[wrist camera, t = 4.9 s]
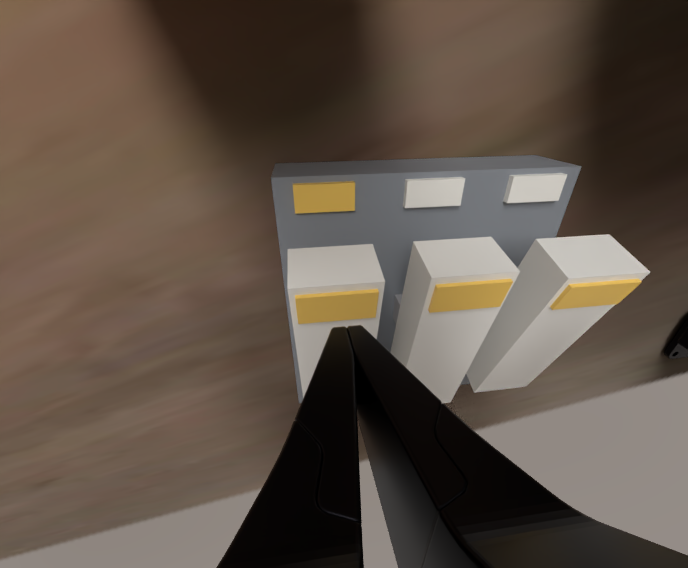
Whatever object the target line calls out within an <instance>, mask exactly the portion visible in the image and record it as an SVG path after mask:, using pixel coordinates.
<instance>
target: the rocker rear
mask: <svg viewBox="0 0 688 568" xmlns="http://www.w3.org/2000/svg"><path fill="white" fill-rule="evenodd" d="M518 269H519V271H520V273H519V275H518V276H517V278H516V280H515V282H514V284H513V286H512V288H511V290H510V292H509V293H508V295H507V297H506V299H505V301H504V303H503V305H502V307H501V308H500V310H499V312H498V314H497V316H496V318H495V320H494V322H493V324H492V325H491V327H490V329H489V331H488V333H487V335H486V337H485V339H484V340H483V342H482V344H481V346H480V348H479V350H478V352H477V354H476V355H475V357H474V359H473V361H472V363H471V365H470V367H469V369H468V371H467V372H466V374H467V377H468V379H469V382H470V384H471V387H472V389H473V391H474V393H475V392H484V391H493V390H501V389H510V388H518V387H526V386H527V385H528V384H529V383H530V382H531V381H532V380H534V379H535V378H536V377H537V376H538V375H539V374H540V373H541V372H542V371H543V370H544V369H546V368H547V367H548V366H549V365H550V364H551V363H552V362H553V361H554V360H555V359H556V358H558V357H559V356H560V355H561V354H562V353H563V352H564V351H565V350H566V349H567V348H568V347H570V346H571V345H572V344H573V343H574V342H575V341H576V340H577V339H578V338H579V337H580V336H582V335H583V334H584V333H585V332H586V331H587V330H588V329H589V328H590V327H591V326H592V325H594V324H595V323H596V322H597V321H598V320H599V319H600V318H601V317H602V316H603V315H604V314H606V313H607V312H608V311H609V310H610V309H611V308H612V307H613V306H614V305H615V304H618V303H619V302H621V301H622V300H623V299H624V298H625V297H626V296H627V295H628V294H629V293H630V292H632V291H633V290H634V289H635V288H636V287H637V286H638V285H639V284H640V283H641V282H642V281H641V280H643V279H644V278H645V277H646V276H647V275H648V274H649V273H650V271H649V270H648V269H647V268H645V267H644V266H643V265H642V264H641V263H640V262H639V261H638V260H637V259H636V258H635V257H634V256H632V255H631V254H630V253H629V252H628V251H627V250H626V249H625V248H624V247H623V246H622V245H620V244H619V243H618V242H617V241H616V240H615V239H614V238H613V237H612V236H611V235H610V234H606V235H590V236H574V237H558V238H542V239H535V241H534V242H533V244H532V245H531V247H530V249H529V250H528V252H527V253H526V255H525V257H524V258H523V260H522V261H521V263H520V265H519V266H518Z"/></svg>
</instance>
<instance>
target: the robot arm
mask: <svg viewBox="0 0 688 568" xmlns="http://www.w3.org/2000/svg"><path fill="white" fill-rule="evenodd" d="M664 355H666V356H667V357H669V358H670V359H674V358H683V357H688V319H687V320H686V322H685V323H684V325H683V326H682V327H681V329H680V330H679V332H678V333H677V335H676V336H675V337H674V339H673V340H672V342H671V343H670V345H669V346H668V347H667V349H666V350H665V352H664ZM441 403H442V402H441V400H440V399H439V398H437V397H436V396H435V395H434V394H433V393H432V392H431V391H430V390H429V389H428V388H427V387H426V386H425V385H424V384H423V383H422V382H421V381H420V380H419V379H418V378H416V377H415V376H414V375H413V374H412V373H411V372H410V371H409V370H408V369H407V368H406V367H405V366H404V365H403V364H402V363H401V362H400V361H399V360H398V359H397V358H395V357H394V356H393V355H392V354H391V353H390V352H389V351H388V350H387V349H386V348H385V347H384V346H383V345H382V344H381V343H380V342H379V341H378V340H377V339H376V338H374V337H373V336H372V335H371V334H370V333H369V332H368V331H367V330H366V329H365V328H364V327H363V326H361V325H354V326H348V327H347V328H346V327H345V326H342V327H333V328H332V329H331V331H330V334H329V336H328V339H327V341H326V343H325V346H324V348H323V351H322V353H321V356H320V358H319V361H318V363H317V366H316V368H315V371H314V373H313V376H312V378H311V381H310V383H309V386H308V388H307V391H306V393H305V396H304V398H303V401H302V403H301V405H300V408H299V410H298V413H297V415H296V418H295V421H294V422H293V425H292V427H291V430H290V432H289V435H288V437H287V439H286V442H285V444H284V446H283V448H282V451H281V453H280V455H279V457H278V459H277V461H276V463H275V465H274V467H273V469H272V471H271V473H270V474H269V476H268V478H267V480H266V482H265V484H264V486H263V487H262V489H261V491H260V493H259V495H258V497H257V498H256V500H255V502H254V504H253V505H252V507H251V509H250V511H249V513H248V514H247V516H246V518H245V520H244V521H243V523H242V525H241V527H240V529H239V530H238V532H237V534H236V536H235V538H234V540H233V541H232V543H231V545H230V547H229V548H228V550H227V551H226V553H225V555H224V557H223V558H222V560H221V561H220V563H219V564H218V566H217V568H364V565H363V547H362V527H361V500H360V475H359V451H358V426H357V417H358V421H359V424H360V428H361V432H362V435H363V439H364V443H365V447H366V450H367V454H368V458H369V461H370V465H371V469H372V472H373V476H374V480H375V483H376V487H377V491H378V495H379V498H380V502H381V506H382V509H383V512H384V517H385V520H386V524H387V528H388V531H389V535H390V539H391V543H392V546H393V550H394V554H395V557H396V561H397V565H398V568H688V556H687V555H685V554H682V553H680V552H677V551H674V550H672V549H669V548H666V547H664V546H661V545H658V544H656V543H653V542H651V541H648V540H645V539H643V538H640V537H638V536H635V535H632V534H629V533H627V532H624V531H622V530H619V529H616V528H614V527H611V526H609V525H606V524H604V523H601V522H598V521H596V520H594V519H592V518H590V517H588V516H586V515H584V514H583V513H581V512H579V511H577V510H575V509H574V508H572V507H571V506H569V505H568V504H566V503H565V502H563V501H562V500H560V499H559V498H558V497H556V496H555V495H554V494H552V493H551V492H550V491H548V490H547V489H546V488H544V487H543V486H542V485H541V484H539V483H538V482H537V481H535V480H534V479H533V478H532V477H531V476H529V475H528V474H527V473H526V472H524V471H523V470H522V469H521V468H519V467H518V466H517V465H515V464H514V463H513V462H512V461H510V460H509V459H508V458H506V457H505V456H504V455H503V454H501V453H500V452H499V451H498V450H496V449H495V448H494V447H493V446H491V445H490V444H489V443H488V442H487V441H485V440H484V439H483V438H482V437H480V436H479V435H478V434H477V433H476V432H475V431H473V430H472V429H471V428H470V427H469V426H468V425H467V424H466V423H464V422H463V421H462V420H461V419H460V418H459V417H458V416H457V415H456V414H454V413H453V412H452V411H451V410H450V409H449V408H448V407H447V406H446V405H445V404H444V403H442V404H441Z"/></svg>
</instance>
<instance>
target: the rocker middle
mask: <svg viewBox="0 0 688 568" xmlns="http://www.w3.org/2000/svg"><path fill="white" fill-rule="evenodd" d="M519 273H520V271H519V269H518V268H517V267H516V266H515V265H514V263H513V262H512V261H511V260H510V259H509V257H508V256H507V255H506V254H505V253H504V251H503V250H502V249H501V248H500V247H499V245H498V244H497V243H496V242H495V240H494V239H493V238H492V237H477V238H460V239H444V240H428V241H413V245H412V250H411V255H410V260H409V265H408V269H407V274H406V279H405V284H404V289H403V294H402V298H401V303H400V308H399V313H398V318H397V323H396V328H395V332H394V337H393V342H392V347H391V352H390V353H391V354H392V355H393V356H394V357H395V358H397V359H398V360H399V361H400V362H401V363H402V364H403V365H404V366H405V367H406V368H407V369H408V370H409V371H410V372H411V373H412V374H413V375H414V376H415V377H416V378H418V379H419V380H420V381H421V382H422V383H423V384H424V385H425V386H426V387H427V388H428V389H429V390H430V391H431V392H432V393H433V394H434V395H435V396H436V397H437V398H439V399H440V400H441V402H442V403H449V402H451V401H452V399H453V397H454V395H455V393H456V391H457V389H458V387H459V386H460V384H461V382H462V380H463V378H464V376H465V374H466V372H467V371H468V369H469V367H470V365H471V363H472V361H473V359H474V357H475V355H476V354H477V352H478V350H479V348H480V346H481V344H482V342H483V340H484V339H485V337H486V335H487V333H488V331H489V329H490V327H491V325H492V324H493V322H494V320H495V318H496V316H497V314H498V312H499V310H500V308H501V307H502V305H503V303H504V301H505V299H506V297H507V295H508V293H509V292H510V290H511V288H512V286H513V284H514V282H515V280H516V278H517V276H518V275H519Z"/></svg>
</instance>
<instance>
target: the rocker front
mask: <svg viewBox="0 0 688 568" xmlns="http://www.w3.org/2000/svg"><path fill="white" fill-rule="evenodd" d="M384 286H385V279H384V276H383V273H382V270H381V267H380V264H379V261H378V258H377V255H376V252H375V249H374V246H373V244H362V245H345V246H329V247H313V248H296V249H288V276H287V289H288V296H289V303H290V310H291V317H292V324H293V331H294V338H295V344H296V351H297V358H298V365H299V372H300V379H301V386H302V393H303V398H304V396H305V393H306V391H307V388H308V386H309V383H310V381H311V378H312V376H313V373H314V371H315V368H316V366H317V363H318V361H319V358H320V356H321V353H322V351H323V348H324V346H325V343H326V341H327V339H328V336H329V334H330V331H331V329H332V328H333V327H342V326H345V327H346V328H347V327H348V326H354V325H361V326H363V327H364V328H365V329H366V330H367V331H368V332H369V333H370V334H371V335H372V336H373V337H374V338H376V339H377V333H378V327H379V320H380V313H381V306H382V300H383V293H384Z"/></svg>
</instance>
